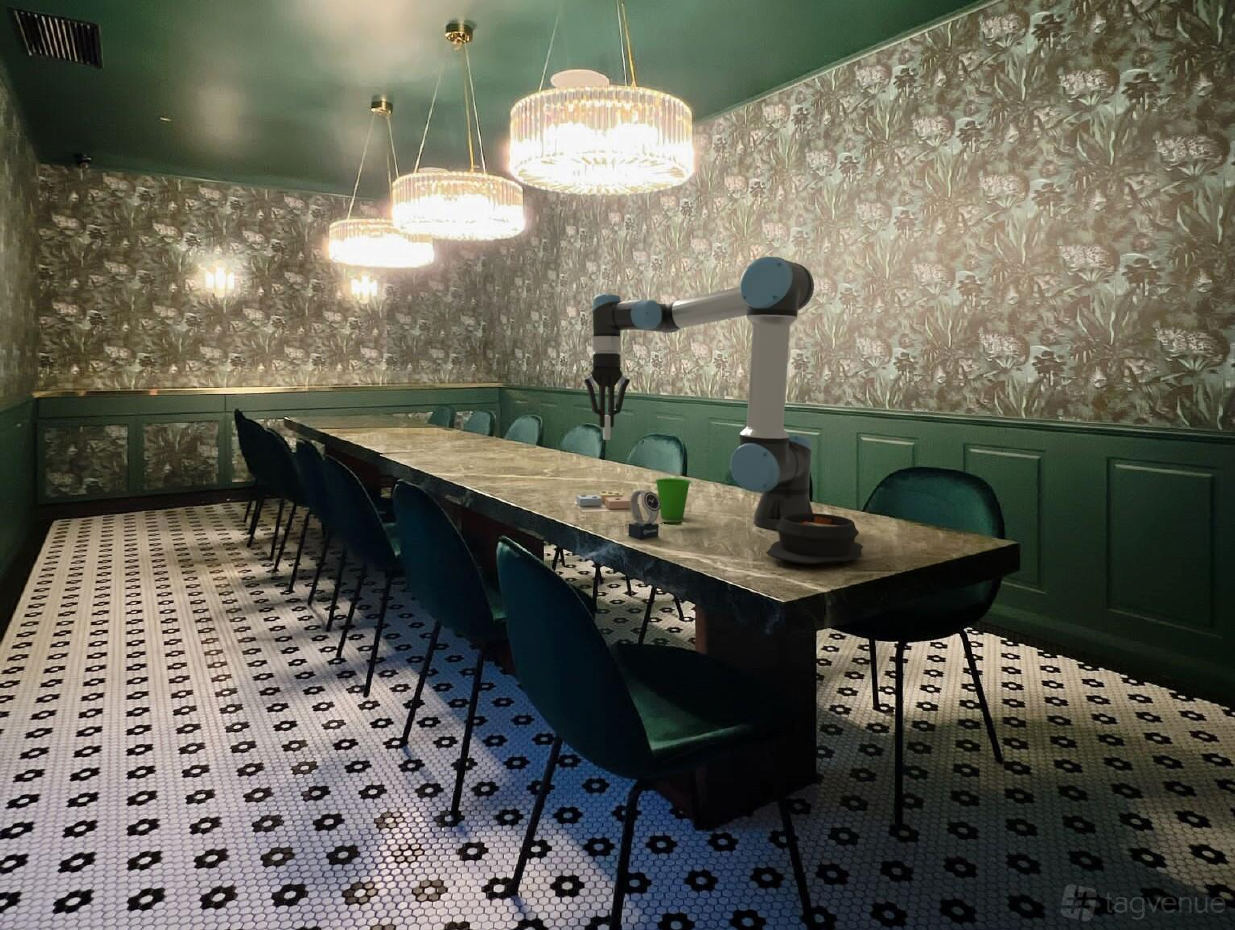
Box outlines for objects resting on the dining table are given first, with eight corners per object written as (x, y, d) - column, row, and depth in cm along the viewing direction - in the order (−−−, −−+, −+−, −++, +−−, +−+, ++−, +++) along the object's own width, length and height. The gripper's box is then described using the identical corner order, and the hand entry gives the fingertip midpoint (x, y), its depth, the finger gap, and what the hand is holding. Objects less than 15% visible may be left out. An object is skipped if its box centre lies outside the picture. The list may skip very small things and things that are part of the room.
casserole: (806, 541, 174) (808, 506, 173) (883, 556, 161) (886, 518, 160) (744, 560, 156) (746, 520, 155) (826, 578, 143) (828, 535, 142)
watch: (646, 541, 171) (647, 493, 170) (623, 534, 178) (624, 489, 176) (664, 538, 175) (665, 491, 173) (641, 532, 181) (642, 487, 180)
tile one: (630, 508, 202) (631, 500, 202) (609, 508, 200) (609, 500, 200) (625, 504, 208) (626, 496, 207) (604, 504, 206) (604, 496, 206)
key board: (637, 515, 201) (637, 510, 201) (582, 517, 198) (582, 511, 197) (622, 503, 219) (622, 498, 219) (571, 504, 216) (571, 499, 216)
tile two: (601, 505, 205) (601, 497, 205) (580, 506, 204) (580, 498, 204) (597, 501, 211) (597, 494, 211) (576, 502, 210) (576, 494, 209)
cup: (687, 527, 187) (689, 484, 185) (651, 525, 189) (652, 482, 187) (691, 520, 196) (692, 479, 194) (657, 518, 197) (658, 477, 196)
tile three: (622, 501, 211) (622, 494, 211) (601, 502, 210) (601, 494, 210) (618, 498, 217) (618, 490, 217) (597, 498, 216) (597, 491, 216)
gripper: (626, 353, 209) (626, 437, 212) (580, 353, 206) (580, 438, 209) (633, 352, 202) (632, 440, 205) (585, 352, 199) (586, 440, 202)
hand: (606, 439), depth 207 cm, fingers closed
